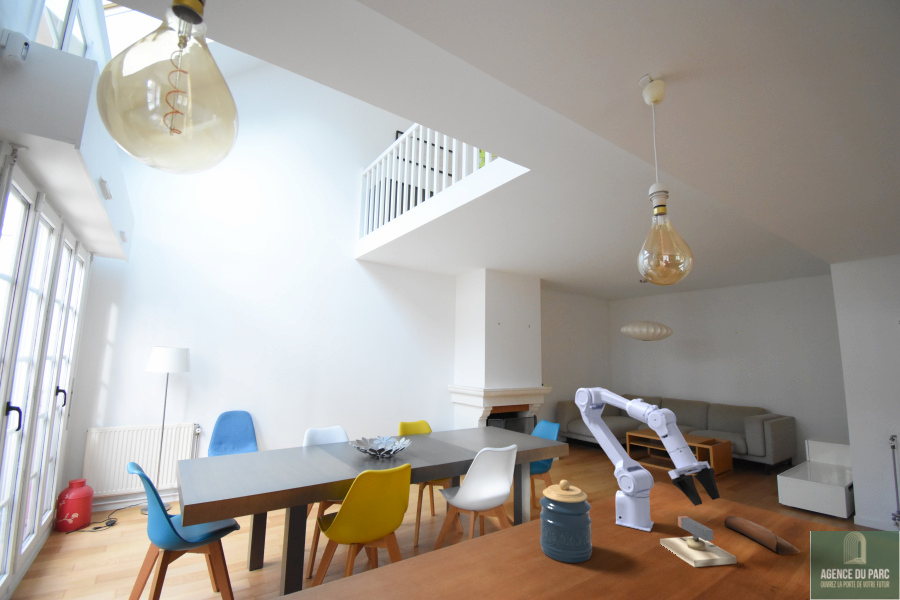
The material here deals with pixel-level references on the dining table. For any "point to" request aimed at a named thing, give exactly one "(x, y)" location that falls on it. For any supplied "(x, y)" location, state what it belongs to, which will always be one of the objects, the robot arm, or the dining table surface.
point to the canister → (565, 523)
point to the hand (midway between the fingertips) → (707, 501)
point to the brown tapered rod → (760, 535)
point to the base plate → (698, 551)
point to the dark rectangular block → (695, 528)
